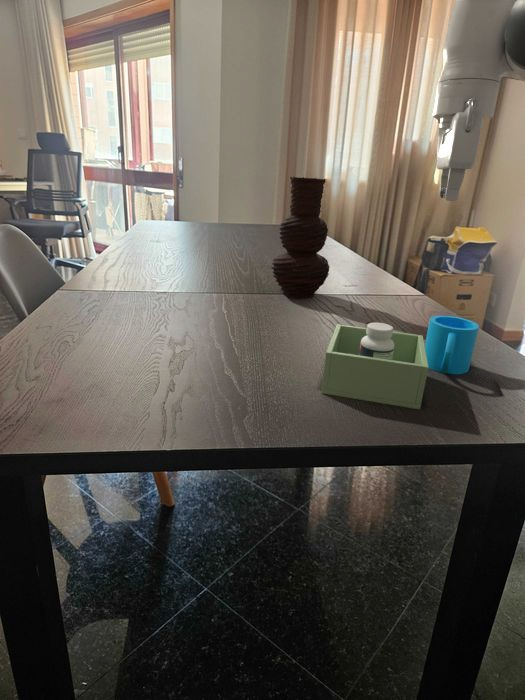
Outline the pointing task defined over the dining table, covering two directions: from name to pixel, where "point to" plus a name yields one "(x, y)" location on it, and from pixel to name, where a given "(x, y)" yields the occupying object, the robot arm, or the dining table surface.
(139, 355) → the dining table surface
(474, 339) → the mug
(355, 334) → the basket
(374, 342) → the pill bottle
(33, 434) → the dining table surface
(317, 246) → the vase
